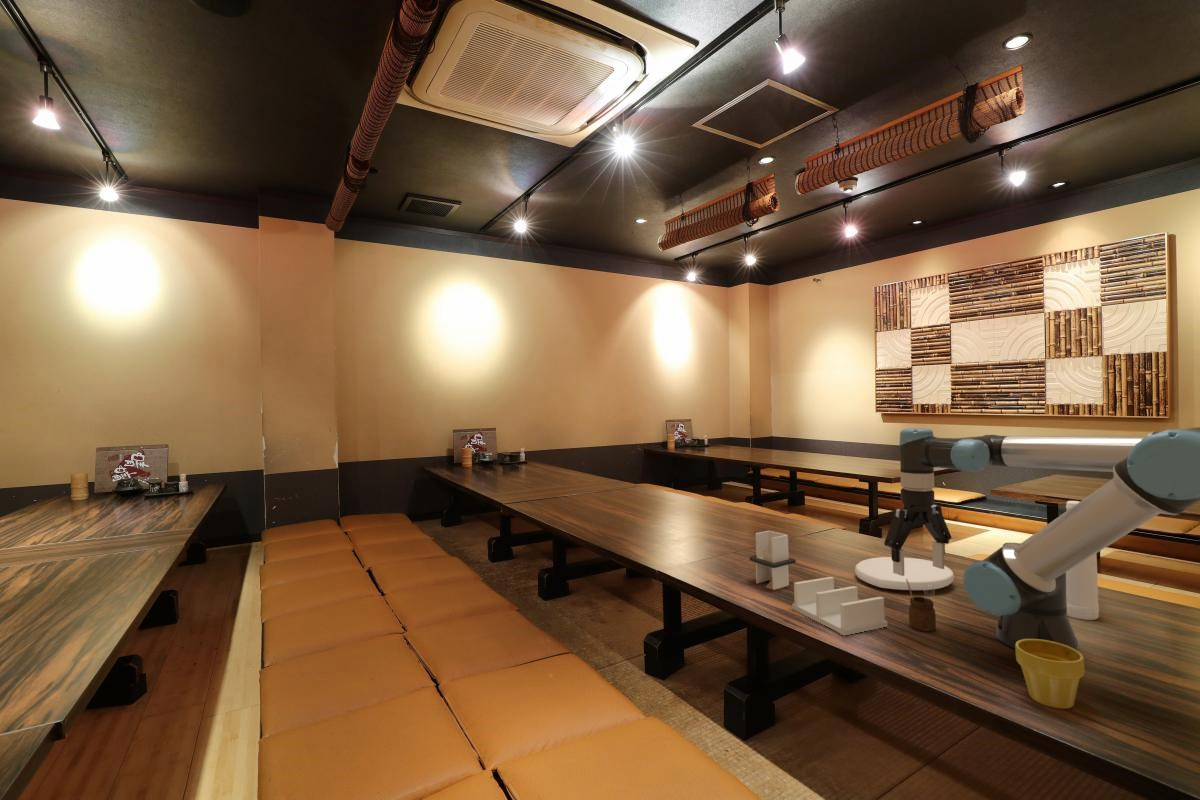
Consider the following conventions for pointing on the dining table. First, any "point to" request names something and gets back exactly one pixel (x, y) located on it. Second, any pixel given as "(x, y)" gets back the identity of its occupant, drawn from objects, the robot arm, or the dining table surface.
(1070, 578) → the bottle
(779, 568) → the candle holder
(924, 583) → the plate
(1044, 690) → the plant pot
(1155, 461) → the robot arm
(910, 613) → the utensil holder
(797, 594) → the slot rack
